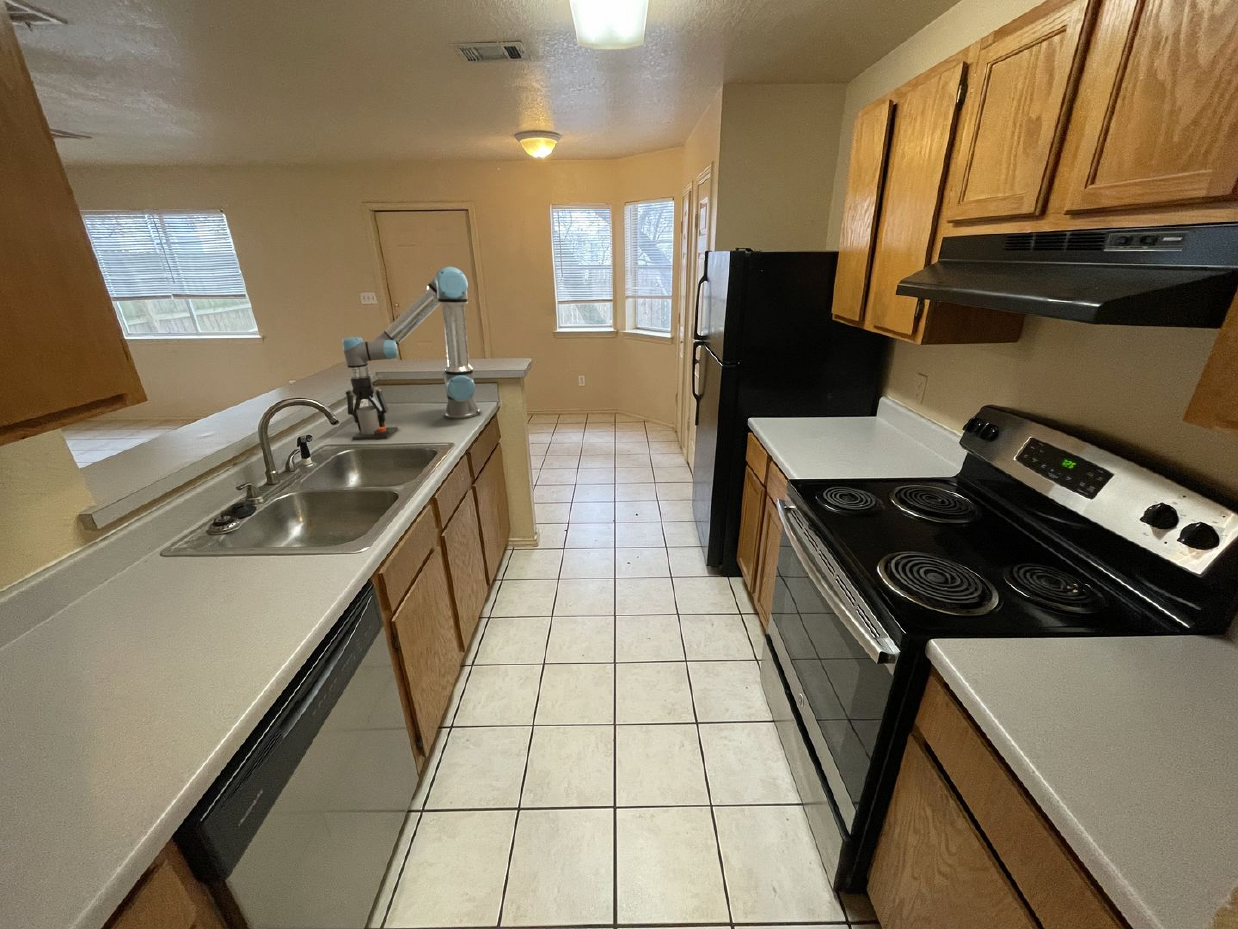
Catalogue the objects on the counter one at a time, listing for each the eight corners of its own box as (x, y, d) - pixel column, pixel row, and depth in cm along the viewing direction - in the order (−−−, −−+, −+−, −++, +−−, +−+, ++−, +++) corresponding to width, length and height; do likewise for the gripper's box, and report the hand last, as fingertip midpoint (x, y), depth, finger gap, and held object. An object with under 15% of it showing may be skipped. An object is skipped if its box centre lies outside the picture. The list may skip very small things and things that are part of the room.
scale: (399, 429, 219) (397, 423, 218) (388, 439, 207) (386, 432, 206) (365, 431, 219) (364, 424, 218) (352, 440, 207) (350, 433, 206)
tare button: (387, 430, 211) (386, 426, 210) (384, 432, 208) (383, 428, 207) (380, 430, 210) (379, 426, 210) (377, 432, 208) (376, 429, 207)
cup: (357, 433, 211) (351, 410, 207) (371, 427, 218) (366, 405, 215) (373, 435, 209) (368, 411, 205) (387, 428, 216) (382, 406, 212)
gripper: (329, 379, 201) (342, 433, 210) (382, 377, 201) (394, 431, 210) (338, 375, 208) (351, 427, 217) (390, 373, 208) (400, 425, 217)
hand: (372, 429), depth 213 cm, fingers closed on cup, 8 cm apart
